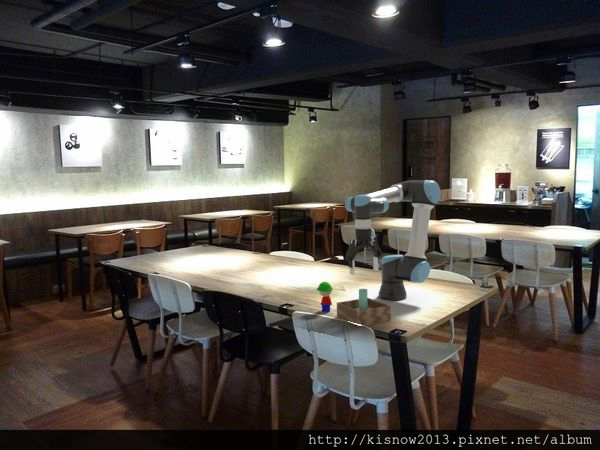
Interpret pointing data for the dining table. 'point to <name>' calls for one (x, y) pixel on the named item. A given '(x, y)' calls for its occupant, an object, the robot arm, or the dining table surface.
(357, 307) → the caddy
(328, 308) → the toy
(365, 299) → the peg
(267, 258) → the dining table surface
